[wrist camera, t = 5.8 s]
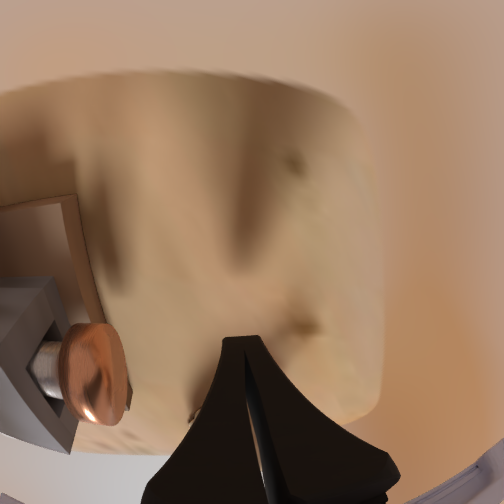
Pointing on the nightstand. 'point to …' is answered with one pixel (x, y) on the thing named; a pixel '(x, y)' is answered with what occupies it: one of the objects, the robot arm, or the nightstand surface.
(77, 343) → the shaft
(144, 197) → the nightstand surface
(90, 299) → the housing
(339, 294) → the nightstand surface
